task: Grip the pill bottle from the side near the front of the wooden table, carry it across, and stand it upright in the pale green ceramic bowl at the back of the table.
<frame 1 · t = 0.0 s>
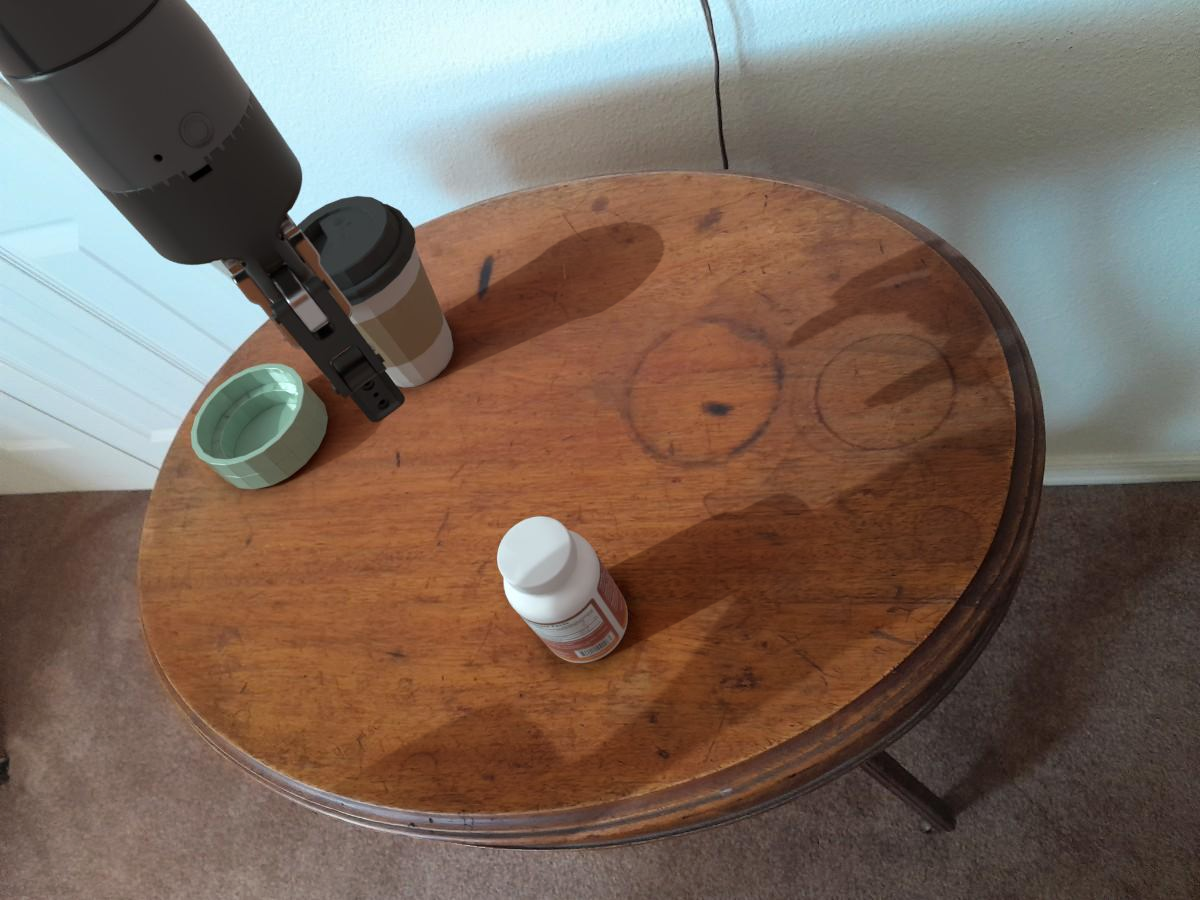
hand: (357, 368, 48), 21 cm above the table, tool pointing down, fingers open, 8 cm apart
pill bottle: (587, 624, 59), on the table
coffee cup: (419, 358, 79), on the table
bowl: (276, 440, 78), on the table
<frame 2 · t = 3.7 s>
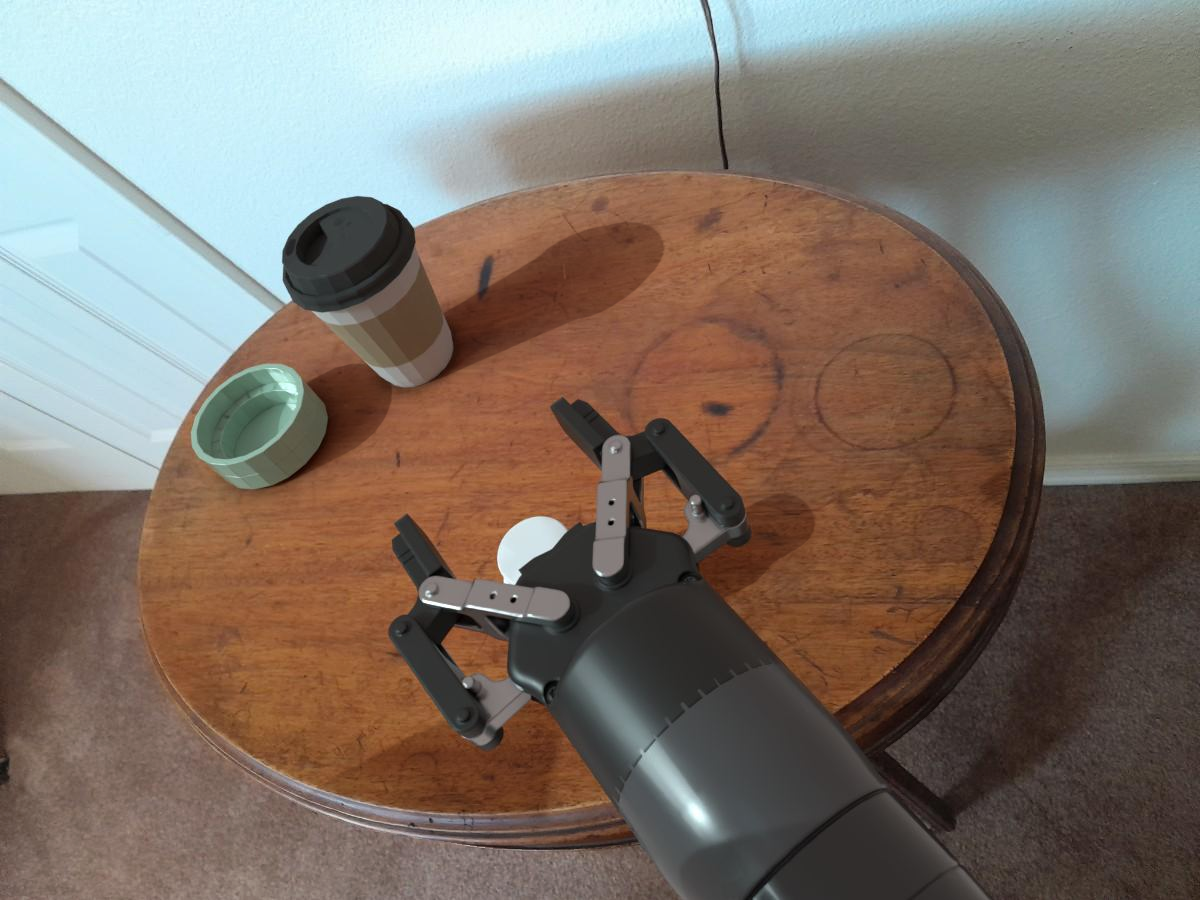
hand: (485, 468, 39), 24 cm above the table, tool horizontal, fingers open, 8 cm apart
nothing on the table moved.
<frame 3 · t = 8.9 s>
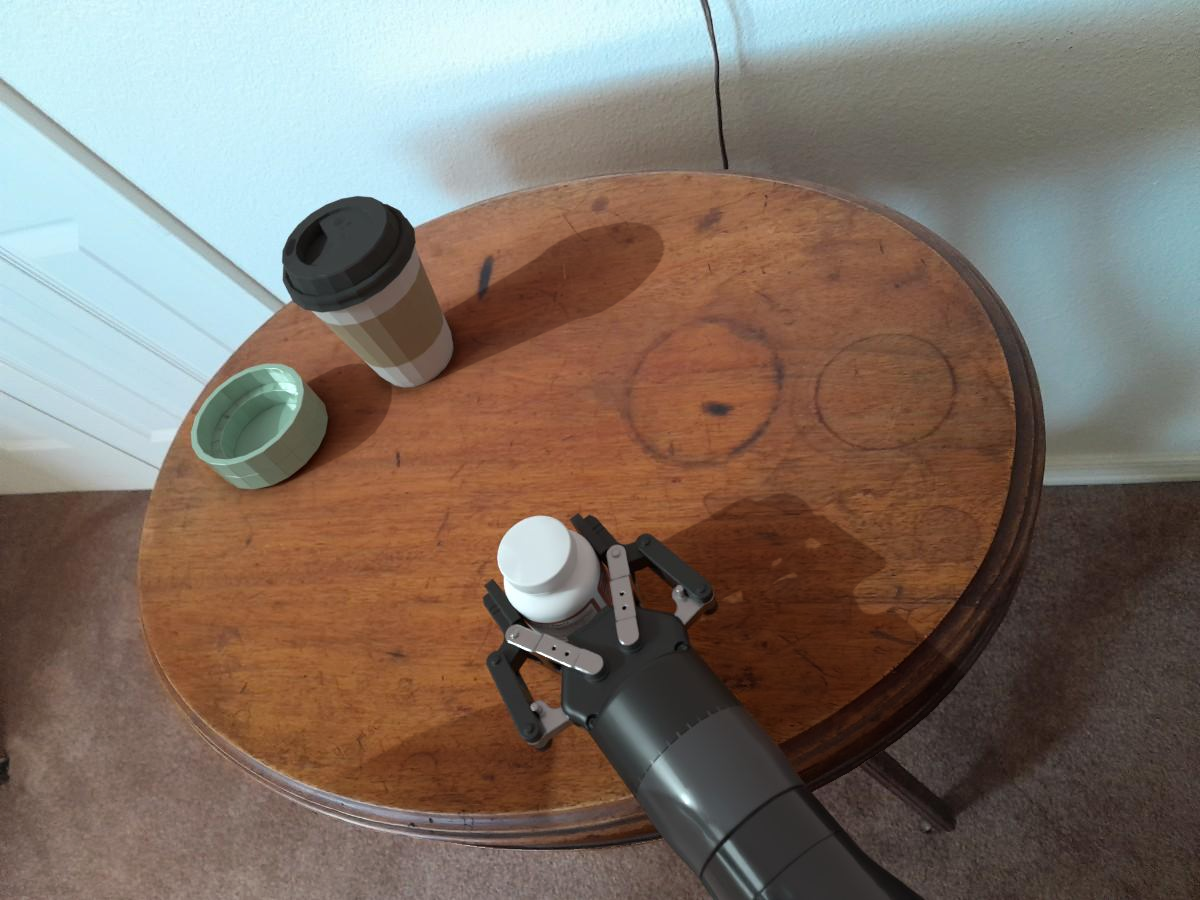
hand: (535, 555, 55), 7 cm above the table, tool horizontal, fingers closed on pill bottle, 6 cm apart
pill bottle: (587, 624, 59), on the table, touching gripper
everything else where it was.
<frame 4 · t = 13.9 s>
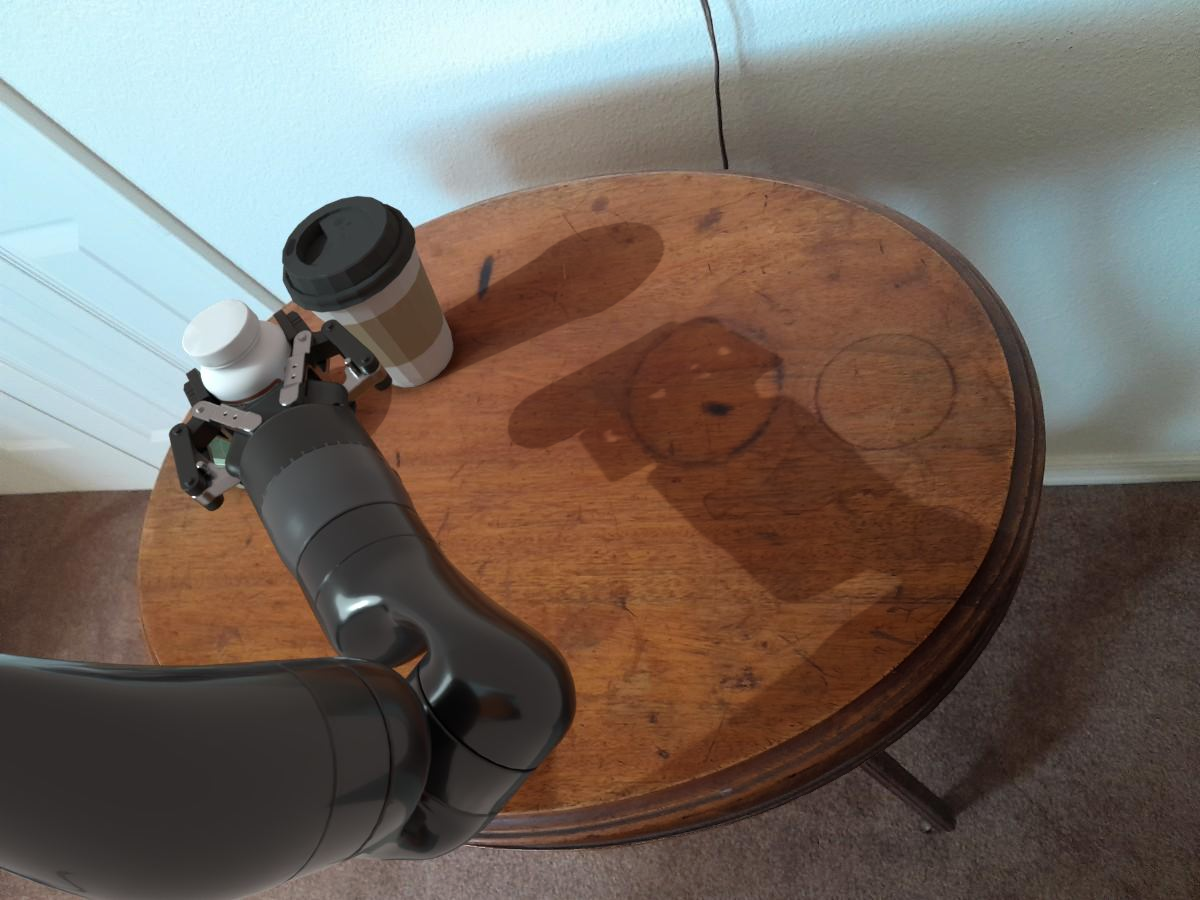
hand: (242, 349, 58), 18 cm above the table, tool horizontal, fingers closed on pill bottle, 6 cm apart
pill bottle: (311, 430, 62), point 10 cm above the table, touching gripper
everything else where it was.
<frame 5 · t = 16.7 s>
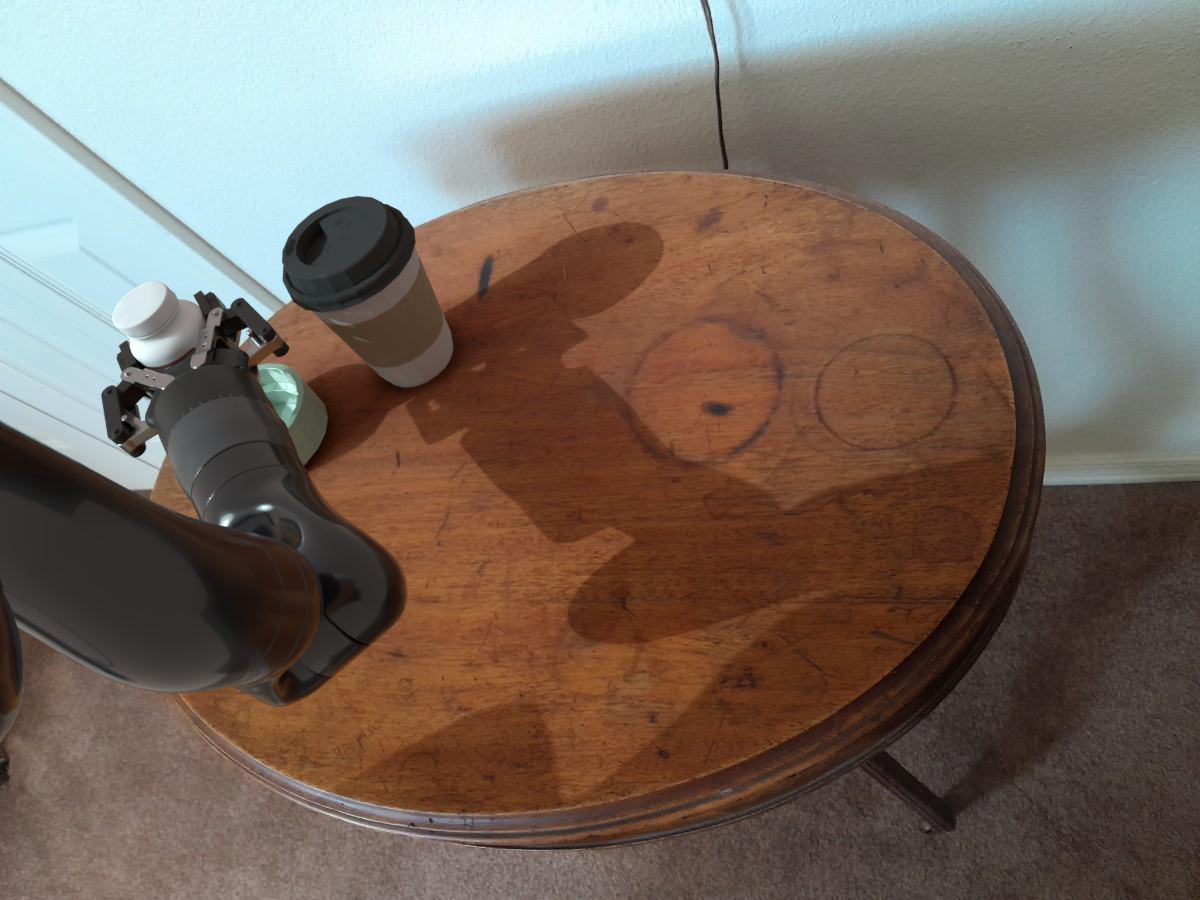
hand: (168, 325, 68), 14 cm above the table, tool horizontal, fingers closed on pill bottle, 6 cm apart
pill bottle: (232, 395, 72), point 7 cm above the table, touching gripper
everything else where it was.
when the fingers open (7 cm above the table, at t = 19.1 s): pill bottle stays where it is, resting on bowl.
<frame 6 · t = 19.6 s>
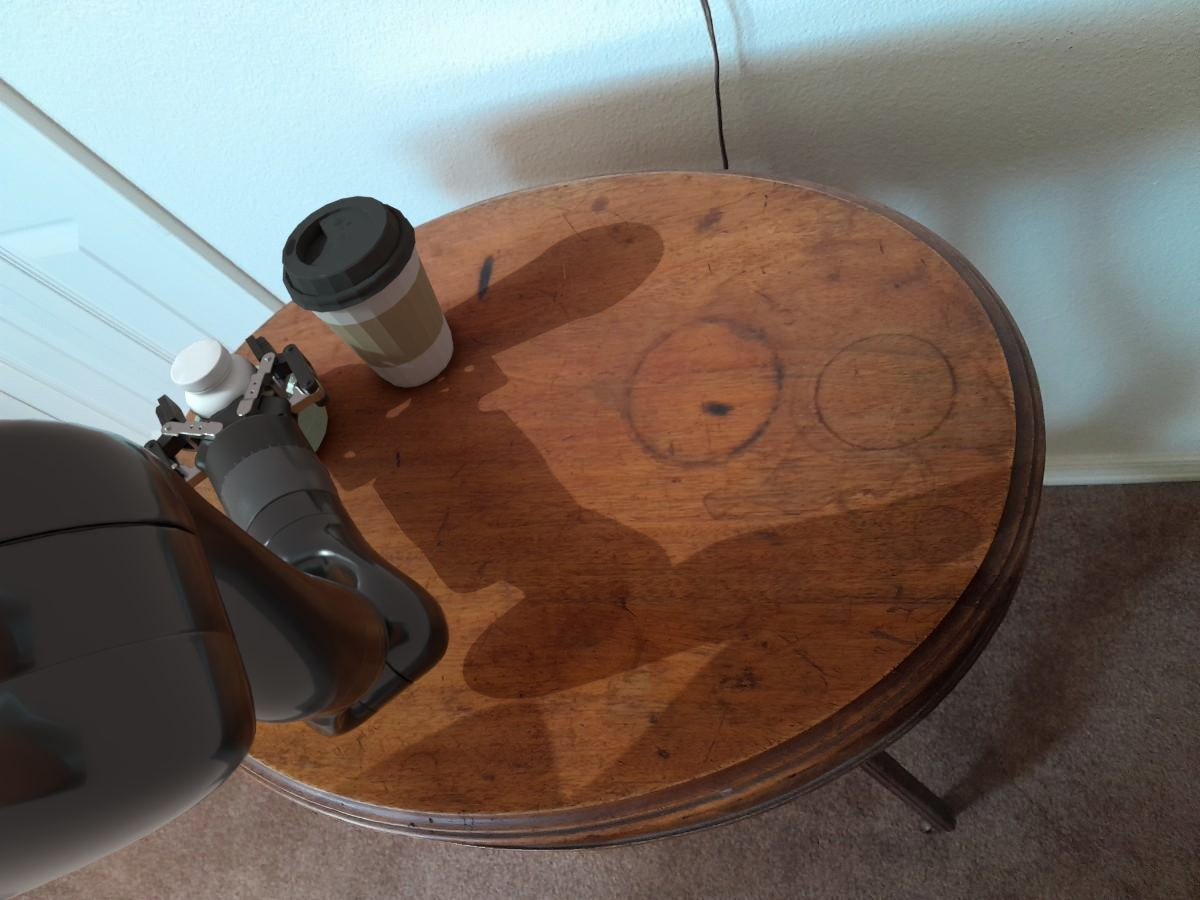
hand: (211, 372, 73), 8 cm above the table, tool horizontal, fingers open, 8 cm apart
pill bottle: (276, 438, 78), resting on bowl
everything else where it was.
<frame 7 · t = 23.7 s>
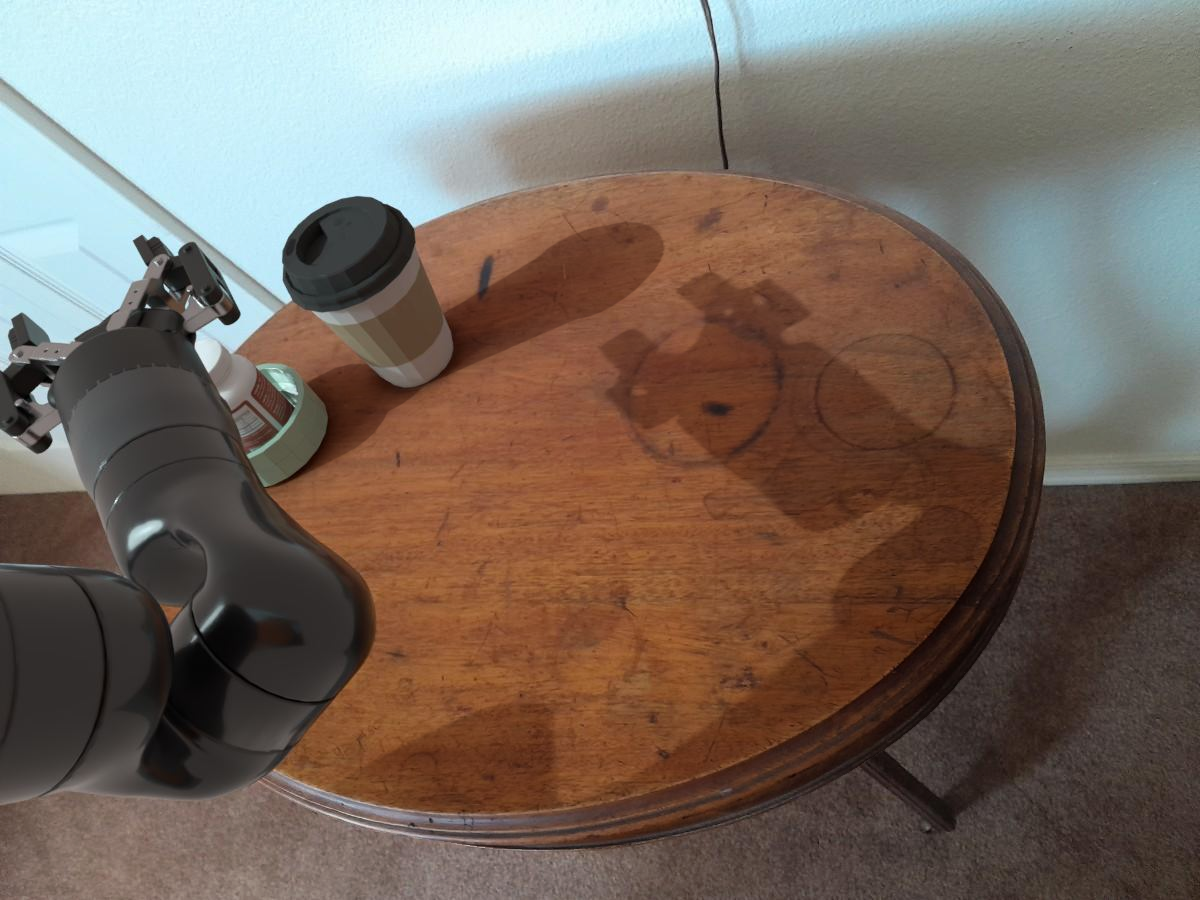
hand: (88, 286, 54), 25 cm above the table, tool horizontal, fingers open, 8 cm apart
nothing on the table moved.
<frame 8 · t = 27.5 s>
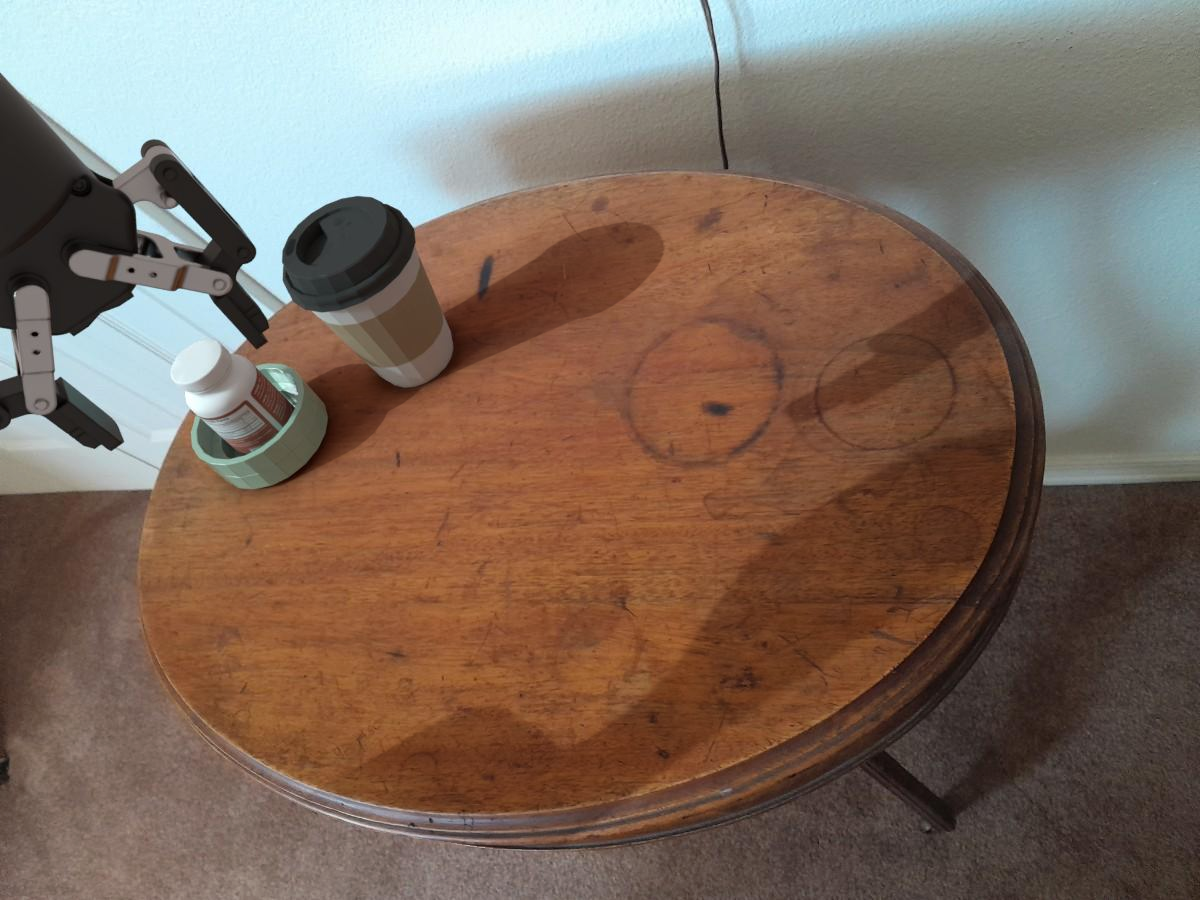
hand: (187, 387, 44), 26 cm above the table, tool pointing down, fingers open, 8 cm apart
nothing on the table moved.
at the end: pill bottle 0.2 cm off-centre in the bowl, point 0.3 cm above the bowl's base; pill bottle tilted 0°; the gripper is holding nothing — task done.
